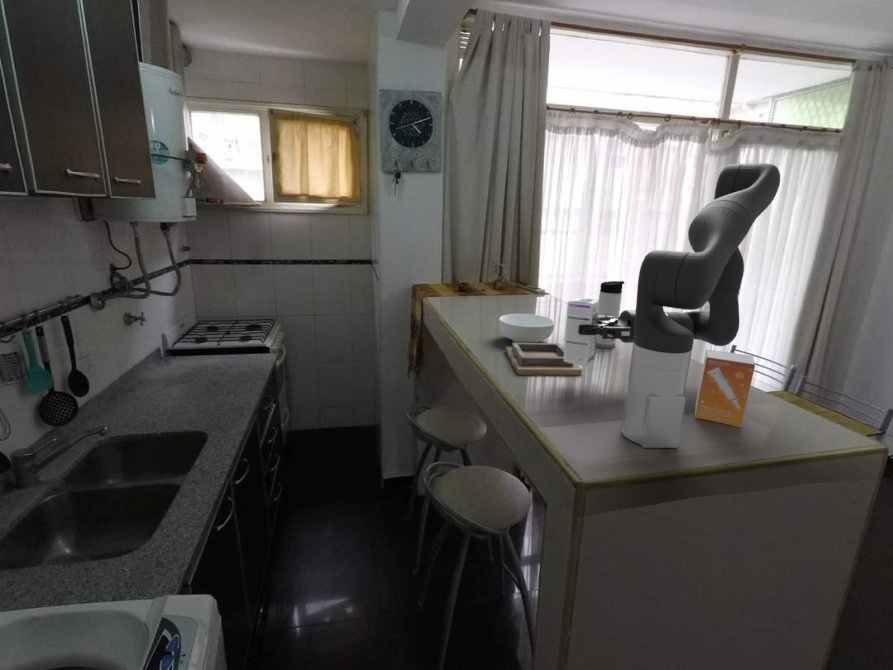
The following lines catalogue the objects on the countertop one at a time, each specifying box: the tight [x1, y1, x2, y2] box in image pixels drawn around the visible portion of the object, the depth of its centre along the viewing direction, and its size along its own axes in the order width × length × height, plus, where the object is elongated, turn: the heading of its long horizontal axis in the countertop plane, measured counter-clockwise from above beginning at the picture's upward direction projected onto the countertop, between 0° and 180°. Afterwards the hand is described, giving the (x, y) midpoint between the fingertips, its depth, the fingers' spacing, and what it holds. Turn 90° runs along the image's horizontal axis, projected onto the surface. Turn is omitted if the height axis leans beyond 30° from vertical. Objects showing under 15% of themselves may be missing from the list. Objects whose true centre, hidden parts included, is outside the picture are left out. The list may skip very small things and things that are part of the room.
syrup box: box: [563, 297, 600, 367], centre depth 103 cm, size 6×6×14 cm
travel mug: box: [595, 280, 625, 349], centre depth 136 cm, size 6×7×20 cm
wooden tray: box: [505, 342, 583, 376], centre depth 121 cm, size 19×16×4 cm
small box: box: [694, 349, 756, 428], centre depth 89 cm, size 8×6×13 cm
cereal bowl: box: [498, 313, 555, 343], centre depth 141 cm, size 17×17×7 cm
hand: (573, 325), depth 103 cm, fingers closed on syrup box, 7 cm apart
